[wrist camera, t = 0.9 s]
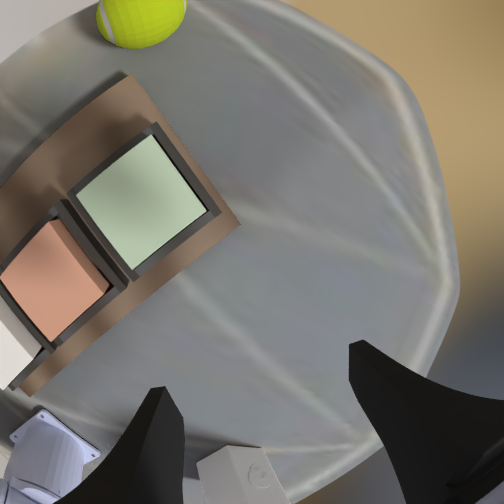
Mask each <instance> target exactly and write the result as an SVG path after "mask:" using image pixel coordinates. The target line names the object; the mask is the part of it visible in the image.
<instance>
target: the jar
mask: <svg viewBox="0 0 504 504" xmlns="http://www.w3.org/2000/svg"><path fill="white" fill-rule="evenodd" d="M196 465H197V469H198V474H199V478H200V482H201V486H202V490H203V494H204V498H205V502H206V504H291V503H290V501H289V499H288V497H287V495H286V494H285V492H284V490H283V488H282V486H281V484H280V482H279V480H278V478H277V476H276V474H275V472H274V470H273V468H272V466H271V464H270V462H269V460H268V458H267V456H266V454H265V452H264V450H263V449H262V448H253V447H241V446H231V445H226V446H224V447H223V448H221V449H219V450H218V451H216V452H214V453H213V454H211V455H209V456H207V457H206V458H204V459H202V460H200V461H199V462H197V463H196Z"/></svg>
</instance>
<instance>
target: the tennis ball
mask: <svg viewBox="0 0 504 504" xmlns="http://www.w3.org/2000/svg"><path fill="white" fill-rule="evenodd" d="M186 9H187V0H100V1H99V4H98V7H97V11H96V21H97V26H98V29H99V30H100V32H101V34H102V35H103V36H104V38H105V39H106V40H108V41H109V42H111V43H113V44H115V45H116V46H118V47H122V48H127V49H140V48H146V47H149V46H153V45H155V44H157V43H159V42H161V41H163V40H165V39H166V38H168V37H169V36H170V35H171V34H172V33H173V32H174V31H176V29H177V28H178V27H179V25H180V24H181V22H182V21H183V18H184V14H185V12H186Z"/></svg>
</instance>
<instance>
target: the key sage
mask: <svg viewBox="0 0 504 504" xmlns="http://www.w3.org/2000/svg"><path fill="white" fill-rule="evenodd" d="M76 196H77V198H78V199H79V200H80V202H81V203H82V205H83V206H84V208H85V209H86V210H87V212H88V213H89V215H90V216H91V217H92V219H93V220H94V221H95V223H96V224H97V226H98V227H99V228H100V230H101V231H102V232H103V234H104V235H105V236H106V238H107V239H108V240H109V242H110V243H111V244H112V245H113V247H114V248H115V249H116V251H117V252H118V253H119V254H120V256H121V257H122V258H123V259H124V261H125V262H126V263H127V264H128V266H129V267H130V268H131V269H132V270H133V269H134V268H135V267H136V266H138V265H139V264H140V263H141V262H142V261H144V260H145V259H146V258H147V257H149V256H150V255H151V254H152V253H153V252H155V251H156V250H157V249H158V248H160V247H161V246H162V245H163V244H165V243H166V242H167V241H168V240H170V239H171V238H172V237H174V236H175V235H176V234H177V233H179V232H180V231H181V230H182V229H184V228H185V227H186V226H188V225H189V224H190V223H192V222H193V221H194V220H195V219H197V218H198V217H199V216H201V215H202V214H203V213H205V212H206V209H205V208H204V207H203V205H202V204H201V203H200V201H199V200H198V198H197V197H196V196H195V194H194V193H193V192H192V190H191V189H190V187H189V186H188V185H187V183H186V182H185V181H184V179H183V178H182V176H181V175H180V174H179V172H178V171H177V170H176V168H175V167H174V165H173V164H172V163H171V161H170V160H169V158H168V157H167V156H166V154H165V153H164V151H163V150H162V149H161V147H160V146H159V145H158V143H157V142H156V140H155V139H154V138H153V136H152V135H150V136H149V137H147V138H146V139H144V140H143V141H142V142H140V143H139V144H138V145H136V146H135V147H134V148H132V149H131V150H130V151H128V152H127V153H126V154H124V155H123V156H122V157H121V158H119V159H118V160H117V161H116V162H114V163H113V164H112V165H111V166H109V167H108V168H107V169H106V170H104V171H103V172H102V173H101V174H100V175H98V176H97V177H96V178H95V179H94V180H93V181H91V182H90V183H89V184H88V185H87V186H86V187H85V188H83V189H82V190H81V191H80V192H79V193H78V194H77V195H76Z"/></svg>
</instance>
